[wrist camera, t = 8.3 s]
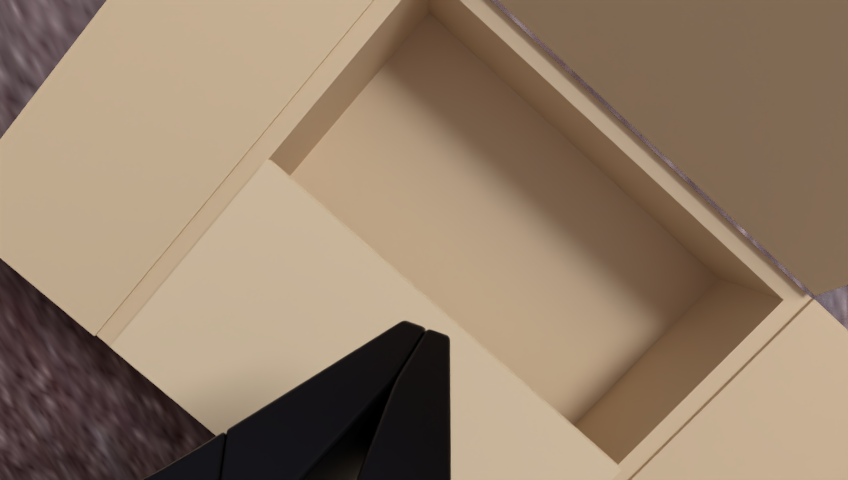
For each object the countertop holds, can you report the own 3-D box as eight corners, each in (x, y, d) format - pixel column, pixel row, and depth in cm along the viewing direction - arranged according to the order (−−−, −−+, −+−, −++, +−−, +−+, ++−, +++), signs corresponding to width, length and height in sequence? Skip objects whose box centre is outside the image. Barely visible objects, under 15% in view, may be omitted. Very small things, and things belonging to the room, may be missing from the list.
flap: (1337, 117, 9) (1323, 107, 9) (684, -561, 8) (689, -552, 8) (815, 295, 15) (815, 286, 15) (432, -61, 14) (438, -64, 15)
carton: (563, 643, 21) (596, 764, 17) (46, 206, 20) (-67, 212, 15) (843, 375, 20) (961, 430, 15) (304, -121, 18) (262, -220, 14)
